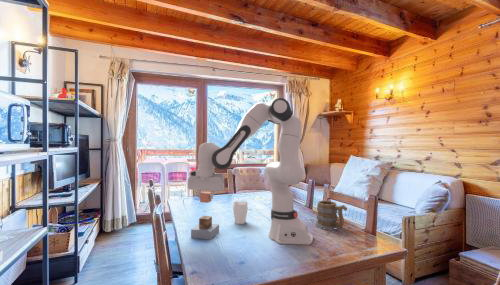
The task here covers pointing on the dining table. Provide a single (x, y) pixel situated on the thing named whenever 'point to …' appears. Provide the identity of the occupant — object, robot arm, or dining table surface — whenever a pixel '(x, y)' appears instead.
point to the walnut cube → (205, 222)
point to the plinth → (205, 232)
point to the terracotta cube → (205, 197)
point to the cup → (240, 212)
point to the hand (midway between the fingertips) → (205, 198)
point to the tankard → (329, 215)
